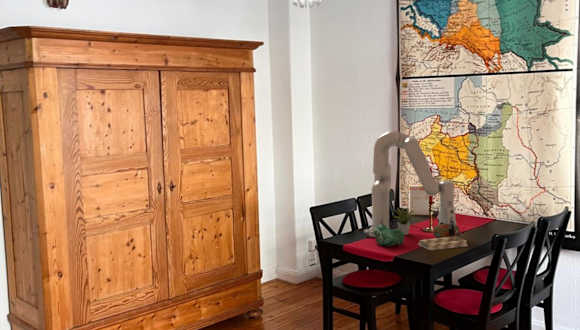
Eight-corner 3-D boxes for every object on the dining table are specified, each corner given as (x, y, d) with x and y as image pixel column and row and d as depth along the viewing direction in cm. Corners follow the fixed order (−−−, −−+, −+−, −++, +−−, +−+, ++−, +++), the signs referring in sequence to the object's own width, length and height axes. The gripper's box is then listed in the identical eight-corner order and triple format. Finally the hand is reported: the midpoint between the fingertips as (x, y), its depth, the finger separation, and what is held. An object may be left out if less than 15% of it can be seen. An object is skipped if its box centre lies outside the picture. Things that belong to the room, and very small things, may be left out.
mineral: (365, 245, 320) (366, 226, 318) (381, 239, 332) (381, 221, 330) (395, 250, 308) (396, 232, 306) (411, 244, 320) (411, 226, 318)
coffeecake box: (431, 212, 396) (431, 184, 393) (432, 215, 389) (433, 185, 386) (408, 212, 397) (408, 184, 394) (409, 215, 390) (409, 185, 387)
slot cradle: (430, 250, 307) (430, 245, 307) (418, 244, 319) (418, 239, 318) (468, 245, 315) (468, 241, 314) (454, 240, 326) (455, 235, 325)
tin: (434, 240, 327) (434, 225, 326) (431, 239, 330) (432, 224, 329) (459, 238, 330) (460, 223, 329) (457, 237, 333) (457, 222, 332)
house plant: (417, 237, 332) (417, 209, 330) (392, 237, 335) (392, 208, 333) (417, 231, 346) (417, 204, 344) (392, 230, 349) (393, 203, 347)
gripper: (461, 205, 320) (461, 236, 322) (443, 200, 336) (443, 229, 339) (449, 206, 318) (449, 238, 320) (432, 201, 334) (432, 230, 336)
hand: (446, 233), depth 329 cm, fingers open, 9 cm apart
